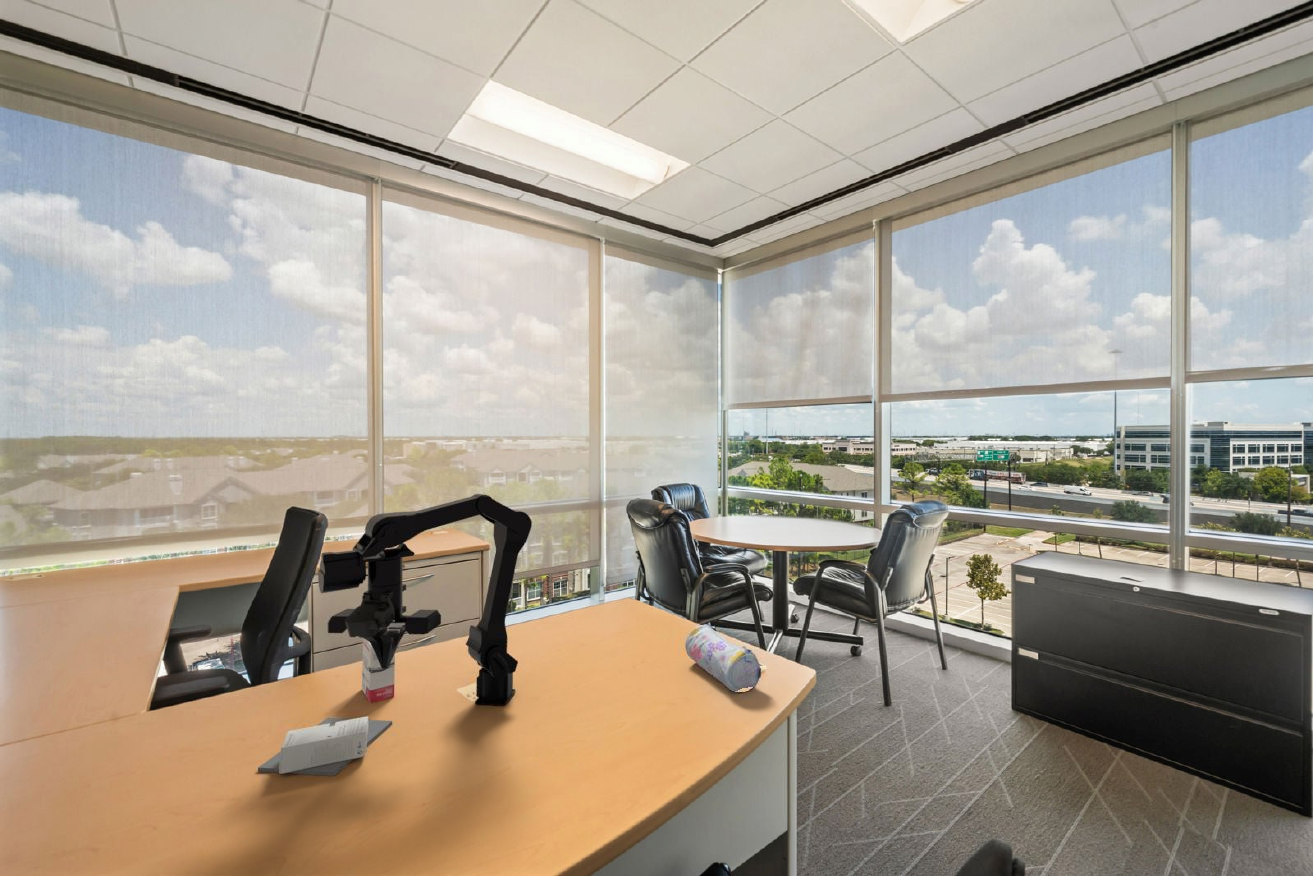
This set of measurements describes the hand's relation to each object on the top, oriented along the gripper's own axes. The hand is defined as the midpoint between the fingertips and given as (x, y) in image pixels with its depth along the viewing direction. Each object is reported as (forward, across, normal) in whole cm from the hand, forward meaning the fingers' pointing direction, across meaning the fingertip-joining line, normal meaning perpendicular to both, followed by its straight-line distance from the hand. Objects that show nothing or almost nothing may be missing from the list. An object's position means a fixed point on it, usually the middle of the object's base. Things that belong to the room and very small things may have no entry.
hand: (385, 667), depth 97 cm
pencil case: (+14, +63, +30) cm, 71 cm away
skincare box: (+9, 0, -6) cm, 11 cm away
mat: (+12, -7, -5) cm, 15 cm away
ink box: (+12, -11, +15) cm, 22 cm away
